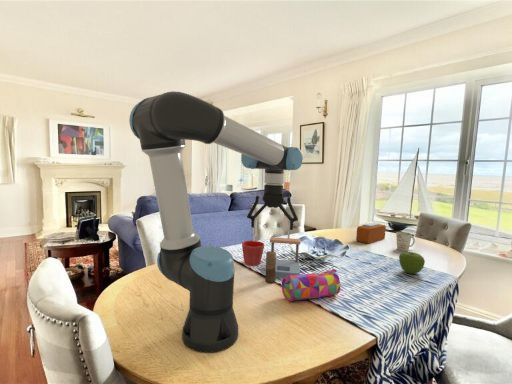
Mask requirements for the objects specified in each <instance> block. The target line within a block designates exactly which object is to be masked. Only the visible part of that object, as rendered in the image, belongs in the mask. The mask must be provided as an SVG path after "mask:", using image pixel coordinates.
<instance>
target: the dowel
mask: <svg viewBox="0 0 512 384" xmlns="http://www.w3.org/2000/svg"><path fill="white" fill-rule="evenodd" d="M265 256H266V257H265V277H264V279H265V280H264V281H265V283H266V284H271V285H272V284H275V283H276V277H275V270H276V259H277V252H276V251H274V252H272V251H271V250H270V251H267V252H266V255H265Z"/></svg>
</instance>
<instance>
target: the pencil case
mask: <svg viewBox="0 0 512 384" xmlns="http://www.w3.org/2000/svg"><path fill="white" fill-rule="evenodd" d="M336 272H337V269H335V268H332V269H331V270H329V269H327V270H325V271H322V272H319V273H316V272H315V273H304V274H303V273H300V275H289V276H287V277H285V278H281V279H282V280H281V291H282V295H283V297H284V298H285V299H286V300H287V301H288V302H290V303H291V302H293V301H304V300H310V299H319V298H324V297H334V296H337V295H338V294H339V293H340V292H341V280H340V277H339V275H338V274H337V273H336Z"/></svg>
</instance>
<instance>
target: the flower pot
mask: <svg viewBox="0 0 512 384" xmlns="http://www.w3.org/2000/svg"><path fill="white" fill-rule="evenodd" d="M241 248H242V256H243V261H244V264H245V265H247V266H250V267H251V266H259V265H260V264H261V262H262V258H263V253H264V248H265V243H264V242H262V241H259V240H245V241H243V242H242V243H241Z"/></svg>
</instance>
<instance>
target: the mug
mask: <svg viewBox="0 0 512 384" xmlns="http://www.w3.org/2000/svg"><path fill="white" fill-rule="evenodd" d="M395 234H396V249H397V250H399V251H403V252H409V249H410V248H411V247H413V246H414V244H416V238H415V237H414V236H413V235H412V233H410V232H405V231H396V233H395ZM411 241H412V242H411ZM410 244H411V245H410Z"/></svg>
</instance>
